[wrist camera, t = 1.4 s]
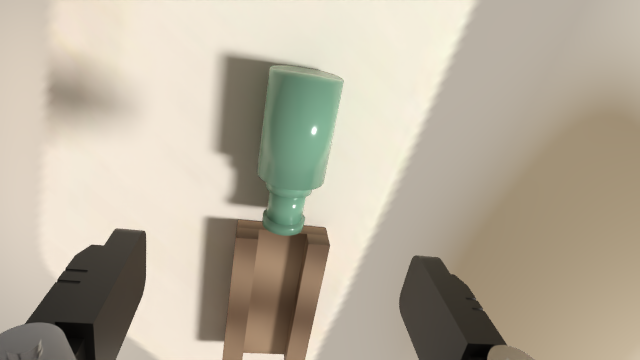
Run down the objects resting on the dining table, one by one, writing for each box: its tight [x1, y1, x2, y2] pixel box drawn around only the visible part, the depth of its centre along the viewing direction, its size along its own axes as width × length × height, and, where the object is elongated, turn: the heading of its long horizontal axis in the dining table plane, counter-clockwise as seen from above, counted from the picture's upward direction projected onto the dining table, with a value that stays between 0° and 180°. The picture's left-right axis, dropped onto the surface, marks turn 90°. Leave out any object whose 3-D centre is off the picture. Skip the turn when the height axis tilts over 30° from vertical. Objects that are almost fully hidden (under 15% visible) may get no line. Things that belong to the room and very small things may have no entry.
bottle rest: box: [222, 220, 330, 360], centre depth 29 cm, size 11×6×2 cm, turn 170°
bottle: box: [257, 65, 344, 236], centre depth 24 cm, size 9×4×4 cm
